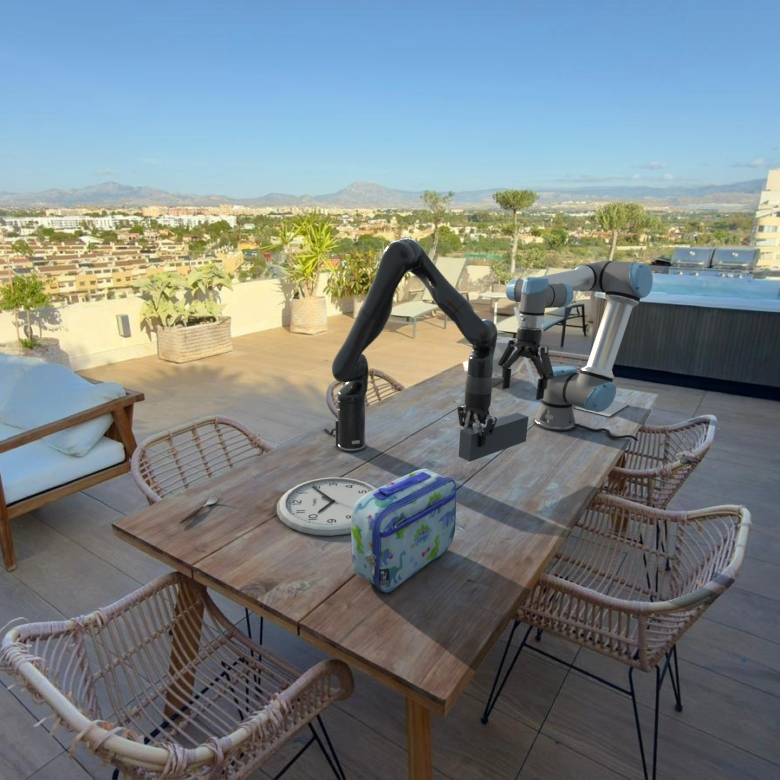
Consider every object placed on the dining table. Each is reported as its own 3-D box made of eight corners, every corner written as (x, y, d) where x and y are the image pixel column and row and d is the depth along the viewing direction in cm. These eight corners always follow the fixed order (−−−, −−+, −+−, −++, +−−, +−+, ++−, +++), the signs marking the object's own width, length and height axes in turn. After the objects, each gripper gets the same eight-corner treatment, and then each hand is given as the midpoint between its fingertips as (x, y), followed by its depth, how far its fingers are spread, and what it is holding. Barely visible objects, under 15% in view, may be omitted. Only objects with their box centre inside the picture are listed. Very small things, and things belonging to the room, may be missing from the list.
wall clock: (392, 527, 129) (268, 531, 127) (391, 533, 130) (269, 537, 127) (383, 473, 158) (282, 475, 155) (383, 478, 158) (282, 480, 156)
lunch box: (379, 605, 105) (380, 513, 99) (344, 580, 112) (343, 493, 106) (459, 552, 123) (464, 471, 116) (425, 533, 130) (428, 456, 124)
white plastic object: (484, 418, 267) (463, 395, 242) (465, 346, 289) (445, 318, 264) (554, 394, 255) (540, 367, 230) (529, 321, 277) (514, 289, 252)
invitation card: (608, 416, 214) (573, 407, 224) (608, 416, 214) (573, 408, 224) (628, 404, 229) (594, 396, 238) (628, 405, 229) (594, 397, 238)
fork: (175, 524, 132) (174, 517, 132) (215, 495, 146) (215, 489, 146) (183, 526, 131) (182, 519, 131) (223, 497, 146) (222, 490, 145)
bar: (514, 436, 172) (517, 412, 169) (526, 441, 169) (528, 416, 166) (458, 456, 156) (460, 429, 154) (469, 461, 153) (471, 434, 150)
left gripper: (451, 385, 154) (448, 439, 159) (488, 398, 143) (483, 455, 148) (469, 381, 158) (465, 433, 163) (506, 393, 148) (501, 449, 153)
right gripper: (491, 322, 169) (485, 385, 175) (556, 335, 150) (547, 405, 156) (506, 321, 174) (500, 382, 180) (572, 333, 155) (562, 402, 161)
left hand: (474, 443), depth 156 cm, fingers closed on bar, 4 cm apart
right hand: (522, 393), depth 168 cm, fingers open, 13 cm apart
